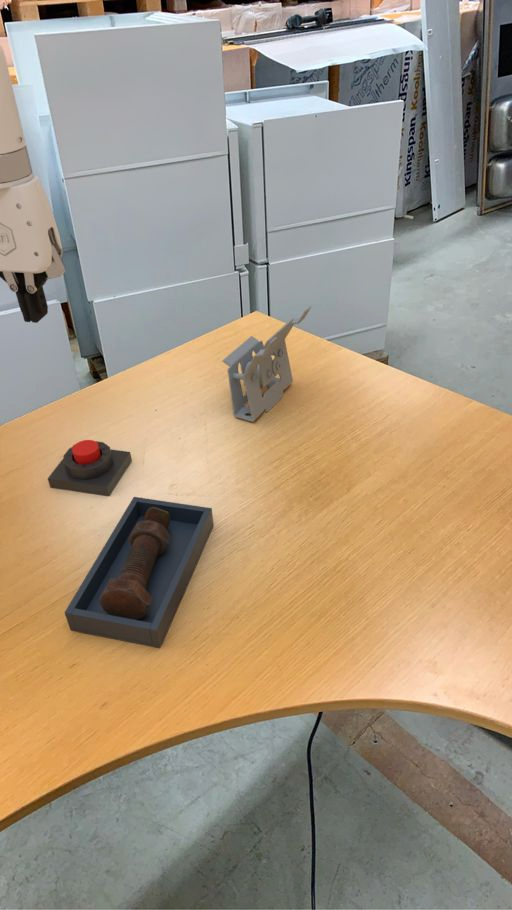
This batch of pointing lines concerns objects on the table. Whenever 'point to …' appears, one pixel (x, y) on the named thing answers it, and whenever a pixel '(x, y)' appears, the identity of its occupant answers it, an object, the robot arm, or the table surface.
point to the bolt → (137, 567)
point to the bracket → (260, 372)
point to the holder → (164, 581)
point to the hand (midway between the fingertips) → (36, 317)
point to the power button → (86, 452)
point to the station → (91, 472)
